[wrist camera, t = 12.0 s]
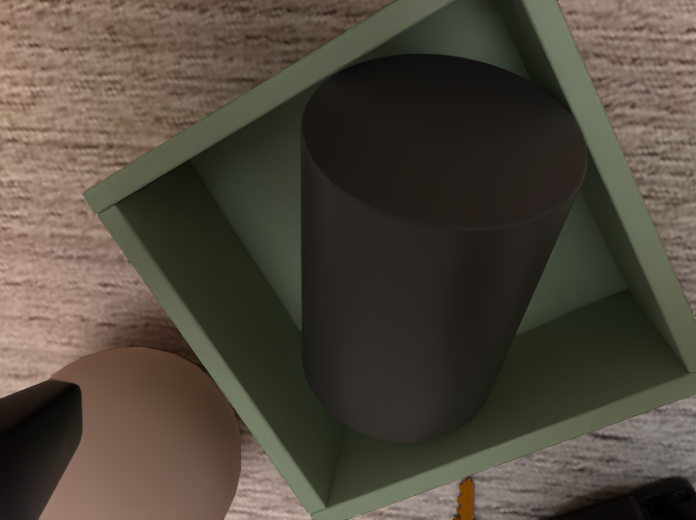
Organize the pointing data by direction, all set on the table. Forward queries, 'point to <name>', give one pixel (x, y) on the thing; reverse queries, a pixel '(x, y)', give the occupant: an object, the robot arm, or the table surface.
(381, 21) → the open box
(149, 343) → the table surface
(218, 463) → the egg
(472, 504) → the key tag
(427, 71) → the dark grey cylinder
